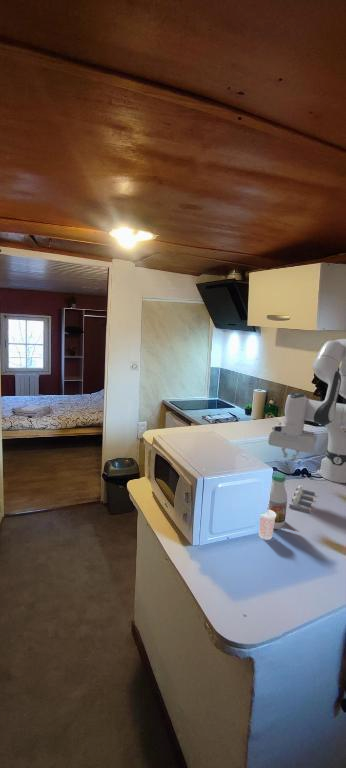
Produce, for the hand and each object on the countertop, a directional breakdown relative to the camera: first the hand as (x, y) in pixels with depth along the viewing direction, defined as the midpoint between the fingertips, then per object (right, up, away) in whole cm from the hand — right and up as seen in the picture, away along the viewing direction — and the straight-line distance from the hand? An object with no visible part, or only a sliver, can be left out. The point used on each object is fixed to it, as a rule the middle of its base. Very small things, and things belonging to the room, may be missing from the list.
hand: (289, 458), depth 164 cm
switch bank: (+3, -19, -6) cm, 20 cm away
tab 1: (+4, -17, 0) cm, 17 cm away
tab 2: (+2, -17, -5) cm, 18 cm away
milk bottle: (-14, -21, -24) cm, 35 cm away
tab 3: (-1, -18, -11) cm, 21 cm away
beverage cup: (-19, -22, -32) cm, 44 cm away
